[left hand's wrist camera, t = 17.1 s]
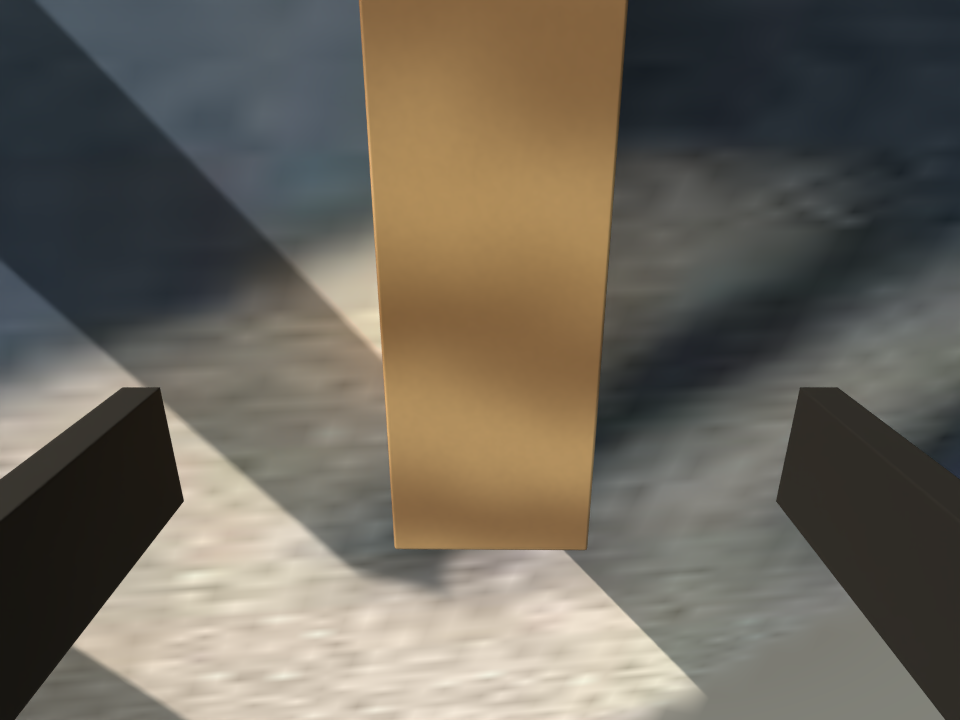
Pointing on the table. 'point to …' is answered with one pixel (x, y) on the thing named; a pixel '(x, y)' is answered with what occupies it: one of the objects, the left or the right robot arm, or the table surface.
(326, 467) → the table surface
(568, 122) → the oak beam
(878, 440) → the left robot arm
